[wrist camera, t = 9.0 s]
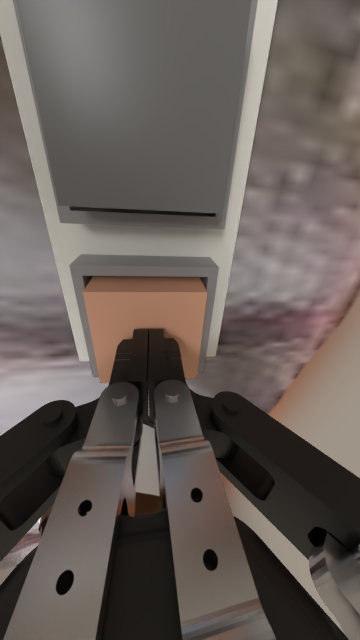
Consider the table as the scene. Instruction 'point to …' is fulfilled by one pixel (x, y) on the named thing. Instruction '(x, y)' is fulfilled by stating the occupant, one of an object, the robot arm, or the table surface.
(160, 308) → the terracotta key
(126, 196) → the charcoal key
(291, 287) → the table surface
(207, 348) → the key panel
